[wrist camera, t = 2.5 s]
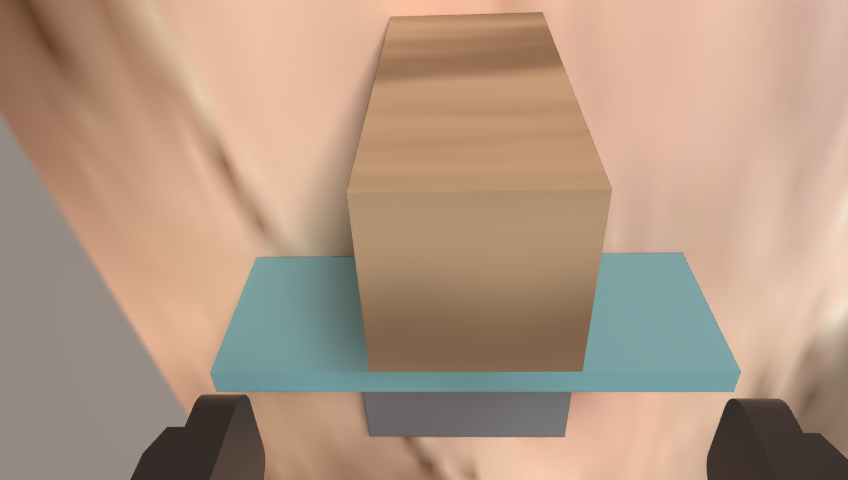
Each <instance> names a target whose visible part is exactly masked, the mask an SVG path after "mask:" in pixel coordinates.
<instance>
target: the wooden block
mask: <svg viewBox="0 0 848 480" xmlns="http://www.w3.org/2000/svg"><path fill="white" fill-rule="evenodd" d="M611 192H612V188H611V186H610V183H609V180H608V178H607V175H606V173H605V170H604V168H603V165H602V163H601V160H600V158H599V155H598V152H597V150H596V147H595V145H594V142H593V140H592V137H591V135H590V132H589V130H588V127H587V124H586V122H585V119H584V117H583V114H582V112H581V109H580V107H579V104H578V102H577V99H576V97H575V94H574V91H573V89H572V86H571V84H570V81H569V79H568V76H567V74H566V71H565V69H564V66H563V63H562V61H561V58H560V56H559V53H558V51H557V48H556V46H555V43H554V41H553V38H552V35H551V33H550V30H549V28H548V25H547V23H546V20H545V18H544V15H543V13H542V12H539V13H505V14H472V15H438V16H405V17H390V21H389V25H388V29H387V33H386V37H385V41H384V45H383V49H382V53H381V57H380V61H379V65H378V69H377V73H376V77H375V81H374V85H373V89H372V93H371V97H370V101H369V105H368V109H367V113H366V117H365V121H364V125H363V129H362V133H361V137H360V141H359V145H358V149H357V153H356V157H355V161H354V165H353V169H352V173H351V177H350V181H349V185H348V189H347V193H346V194H347V202H348V210H349V217H350V225H351V232H352V240H353V247H354V255H355V262H356V270H357V278H358V285H359V293H360V300H361V308H362V315H363V323H364V331H365V338H366V346H367V353H368V361H369V368H370V372H583V366H584V360H585V354H586V347H587V341H588V335H589V329H590V323H591V316H592V310H593V304H594V298H595V291H596V285H597V279H598V273H599V267H600V260H601V254H602V248H603V242H604V236H605V229H606V223H607V217H608V211H609V204H610V198H611Z"/></svg>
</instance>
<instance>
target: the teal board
mask: <svg viewBox="0 0 848 480" xmlns="http://www.w3.org/2000/svg"><path fill="white" fill-rule="evenodd" d="M740 373H741V371H740V369H739V367H738V365H737V363H736V361H735V359H734V357H733V355H732V353H731V351H730V349H729V347H728V344H727V342H726V340H725V338H724V336H723V334H722V332H721V330H720V328H719V326H718V324H717V322H716V320H715V318H714V316H713V314H712V312H711V310H710V308H709V306H708V304H707V302H706V300H705V297H704V295H703V293H702V291H701V289H700V287H699V285H698V283H697V281H696V279H695V277H694V275H693V273H692V271H691V269H690V267H689V265H688V263H687V261H686V259H685V257H684V255H683V253H643V254H601V260H600V267H599V273H598V279H597V285H596V291H595V298H594V304H593V310H592V316H591V323H590V329H589V335H588V341H587V347H586V354H585V360H584V366H583V372H370V368H369V361H368V353H367V346H366V338H365V331H364V323H363V315H362V308H361V300H360V293H359V285H358V278H357V270H356V262H355V257H268V258H256V260H255V263H254V265H253V268H252V270H251V273H250V275H249V277H248V280H247V282H246V285H245V287H244V290H243V292H242V295H241V297H240V300H239V302H238V305H237V307H236V310H235V312H234V315H233V317H232V320H231V322H230V325H229V327H228V329H227V332H226V334H225V337H224V339H223V342H222V344H221V347H220V349H219V352H218V354H217V357H216V359H215V362H214V364H213V367H212V369H211V372H210V374H211V377H212V380H213V382H214V385H215V388H216V391H217V392H734V389H735V386H736V384H737V381H738V378H739V376H740Z"/></svg>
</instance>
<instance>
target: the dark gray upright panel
mask: <svg viewBox="0 0 848 480" xmlns="http://www.w3.org/2000/svg"><path fill="white" fill-rule="evenodd" d="M363 394H364V401H365V408H366V415H367V422H368V429H369V435H370V436H413V437H565V431H566V425H567V418H568V411H569V405H570V398H571V392H363Z"/></svg>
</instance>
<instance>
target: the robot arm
mask: <svg viewBox="0 0 848 480" xmlns="http://www.w3.org/2000/svg"><path fill="white" fill-rule="evenodd" d="M264 471H265V453H264V447H263V444H262V440H261V437H260V434H259V430H258V427H257V423H256V420H255V417H254V413H253V410H252V406H251V403H250V400H249V398H248V396H247V395H201V396H200V397H199V398H198V399H197V400H196V402H195V404H194V406H193V409H192V411H191V413H190V416H189V418H188V420H187V423H186V425H185V427H167V428H166V429H165V430H164V431H163V432H162V433H161V434H160V435H159V437H158V438H157V439H156V440H155V441H154V442H153V443H152V444H151V445H150V446H149V447H148V448H147V450H145V452H144V453H143V454H142V456H141V459H140V461H139V463H138V465H137V467H136V469H135V471H134V473H133V476H132V478H131V480H263V479H264ZM707 477H708V480H848V459H847V458H845V457H844V456H843V455H842V454H841V453H840V452H839V451H838V450H837V449H836V448H835V447H834V446H833V445H832V444H831V443H829V442H828V441H827V440H826V439H825V438H824V437H823V436H822V435H821V434H820V433H803V431H802V430H801V428H800V426H799V424H798V422H797V421H796V419H795V417H794V415H793V413H792V411H791V410H790V408H789V407H788V405H787V404H786V403H785V402H784V401H782V400H780V399H730V400H729V401H728V402H727V404H726V406H725V408H724V411H723V414H722V417H721V419H720V422H719V425H718V428H717V430H716V433H715V436H714V439H713V441H712V444H711V447H710V450H709V452H708V456H707Z"/></svg>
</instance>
